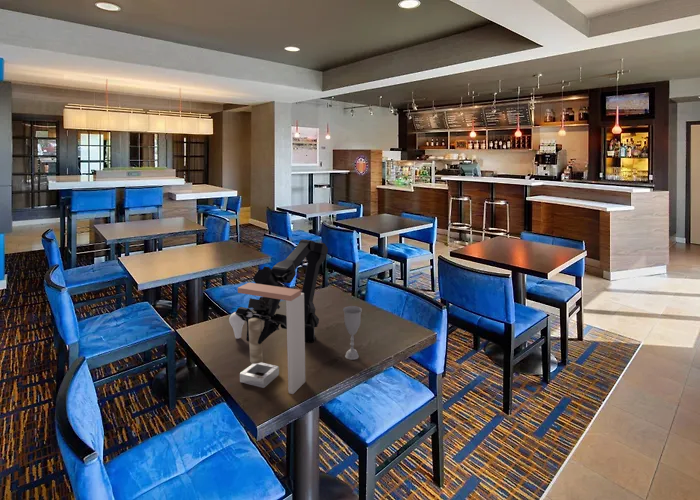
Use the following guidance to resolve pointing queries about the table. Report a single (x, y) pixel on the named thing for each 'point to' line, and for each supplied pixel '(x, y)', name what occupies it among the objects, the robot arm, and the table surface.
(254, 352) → the peg
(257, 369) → the socket
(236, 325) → the lightbulb
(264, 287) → the inverted l-shaped panel
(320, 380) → the table surface
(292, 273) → the robot arm
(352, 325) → the chalice
